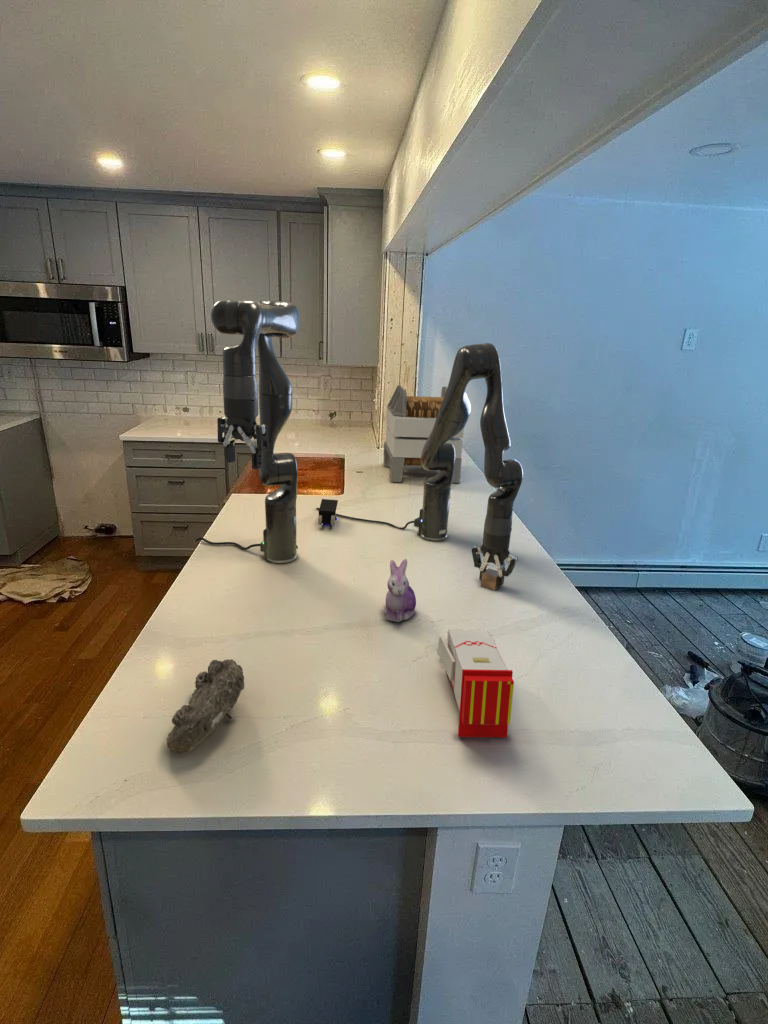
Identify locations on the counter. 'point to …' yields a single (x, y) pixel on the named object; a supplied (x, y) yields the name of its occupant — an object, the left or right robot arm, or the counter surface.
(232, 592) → the counter surface
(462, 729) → the toy
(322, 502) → the figurine character
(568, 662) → the counter surface
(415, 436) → the grey slatted planter box
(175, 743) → the fossil
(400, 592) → the figurine
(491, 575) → the block
